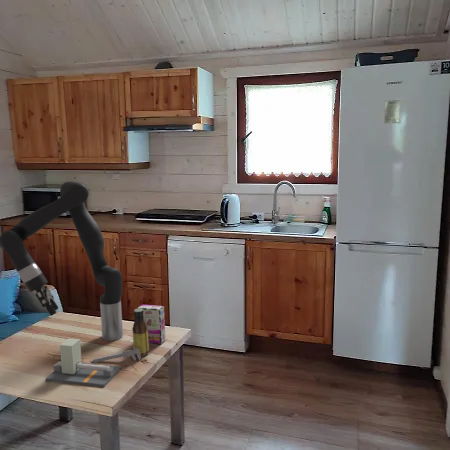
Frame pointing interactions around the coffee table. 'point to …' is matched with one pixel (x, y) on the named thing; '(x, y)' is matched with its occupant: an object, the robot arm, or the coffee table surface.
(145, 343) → the sauce bottle
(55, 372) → the pipe rig
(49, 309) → the robot arm
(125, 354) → the caliper
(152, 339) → the candy bar box
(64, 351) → the sage green block
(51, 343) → the coffee table surface
